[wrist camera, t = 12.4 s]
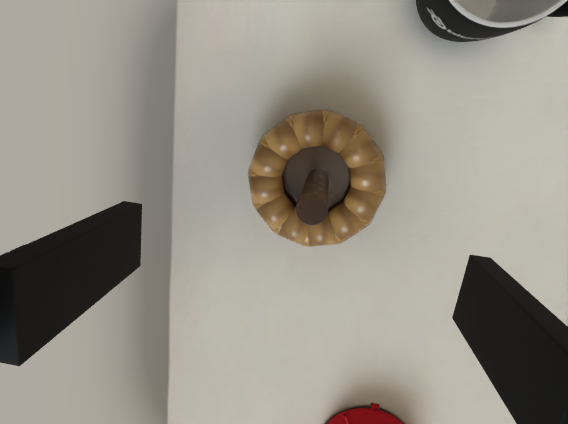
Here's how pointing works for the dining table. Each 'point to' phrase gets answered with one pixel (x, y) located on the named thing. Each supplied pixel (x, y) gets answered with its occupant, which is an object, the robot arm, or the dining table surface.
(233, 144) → the dining table surface
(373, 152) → the segmented ring
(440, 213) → the dining table surface
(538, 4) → the mug
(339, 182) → the peg
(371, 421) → the alarm clock
